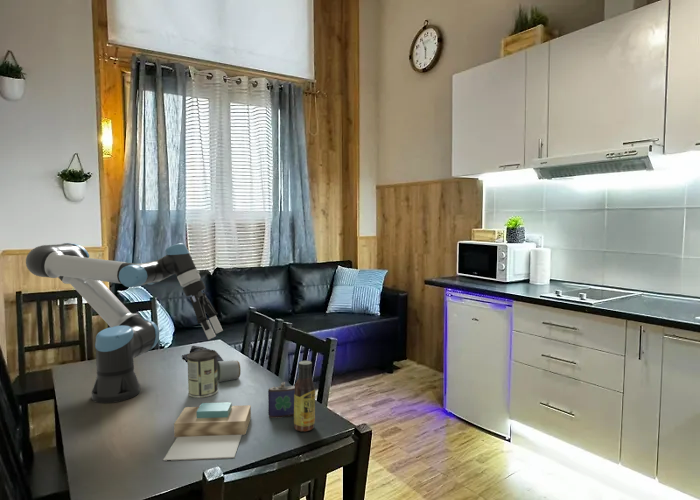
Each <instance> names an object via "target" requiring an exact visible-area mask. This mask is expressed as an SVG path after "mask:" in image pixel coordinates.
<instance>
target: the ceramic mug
mask: <svg viewBox="0 0 700 500" xmlns="http://www.w3.org/2000/svg"><path fill="white" fill-rule="evenodd" d="M241 369H242V368H241V364H240V362H239V361H238V360H234V359H233V360H224V361H218V362H217V382H218V383H220V382H228V381H232V380H238V379H239V378H240V376H241V372H242V371H241Z"/></svg>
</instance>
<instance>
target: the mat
mask: <svg viewBox="0 0 700 500" xmlns="http://www.w3.org/2000/svg"><path fill="white" fill-rule="evenodd" d="M242 436H243V435H216V436H188V437H176V439H175V440H174V442H173V443H172V445H171V447H170V448H169V449H168V451H167V453H166V454H165V456H164V458H163V459H162V460H163V461H165V462H166V461H167V460H171V461H190V460H191V461H192V460H214V459H216V460H217V459H218V460H219V459H234V458H236V457H235V456H236V454H237V450H238V448H239V445H240V442H241V439H242Z"/></svg>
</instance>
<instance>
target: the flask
mask: <svg viewBox="0 0 700 500" xmlns="http://www.w3.org/2000/svg"><path fill="white" fill-rule="evenodd" d="M267 390H268V391H267V392H268V393H267V394H268V397H267V398H268V401H267V402H268V405H267V406H268V407H267V408H268V412H267V413H268V417H269V418H272V419H278V418H279V419H280V418H288V417H294V393H295V385H289V386H286V382H285V381H282V382H281V384H280V385H279V386H276V387H275V386H274V385H273V387H269V388H268V389H267Z"/></svg>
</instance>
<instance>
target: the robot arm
mask: <svg viewBox="0 0 700 500" xmlns="http://www.w3.org/2000/svg"><path fill="white" fill-rule="evenodd" d="M164 252H165V255H164V256H162V257H161V258H158V259H156V260H154V261H146V262H142V263H141V262H140V263H134V262H126V261H117V260H109V259H102V258H100V259H99V258H93V257H90V254H89V252H88V250H87V249H86V248H85V247H84V246H82V245H80V244H77V243H70V242H66V243H65V242H64V243H61V244H43V245H39V246H35V247H34V248H32V249H31V250H30V251H29V252H28V254H27V255H26V258H25V266H26V267H27V270H28V271H29V272H30V273H31V274H33V275H34V276H36V277H40V278H50V279H51V278H52V279H57V278H58V279H59V280H60V281H61V282H62V284H66V285H67V284H69V285H71V287H72V288H74V289H75V291H76V292H77V293H78V294H79V295H80V296H81V297H82V298H83V299H84V301H85V302H86V303H87V304H89V306H90V307H91V308H92V309H93V310H94V311H95V312H96V313H97V314H98V315H99V317H100V318H101V319H102V320H103V321H104V322H105V324H107V325H108V326H109V327H107V328H104V329H102V330H100V331H99V332H98V333H97V334H96V336H95V344H94V347H95V361H96V362H95V363H96V377H95V378H96V379H95V381H94V384H93V386H92V390H91V400H92V401H93V402H94V403H99V404H100V403H101V404H112V403H118V402H123V401H126V400H129V399H131V398H135V397H136V396H137V395H139V393H141V385H140V382H139V380H138V377H137V374H136V372H135V363H134V362H135V361H134V359H135V358H137V357H139V356H141V355H143V354H144V353H145V354H146V353H148V352H150V351H152V349H153V348H155V347H156V345H157V344H158V342H159V340H160V330H159V328H158V325H157V323H155V322H154V321H152V320H147V319H143V318H142V317H141V316H140V314H138V313H133V312H131V311H130V310H129V309H128V307H126V306H125V305H124V303H123V302H122V301H120V300H119V298H118V297H117V296H116V295H115V294H114V293H113V292H112V291H111V290H110V289H109V288H108V286H107V285H106V284H105V283H104V282H106V283H114V284H122V285H123V286H124V287H126V288H137V287H141V286H145V285H150V286H152V285H154V284H158V283H160V282H161V281H163V280H165V279H167V278H169V277H171V276H173V275H175V276H176V278H177V280H178V282H179V284H180V287H182V290H183V292H184V294H185V297H187V298H188V297H189V301H190V302H191V304H192V308H193V311H194V315H195V317H196V321H197V322H196V323H197V324H198V325H199V324H200V325H201V327H202V329H203V331H204V334H205V336H206V338H207V340H208V341H209V340H211V339H213V338H215V337H216V336H217V334H219V333H221V332H223V331H224V330H223V328H222V325H221V323H220V321H219V319H218V317H217V315H218V314H219V313H218V312H217V311H216V309H215V308H214V307H213V305H212V303H211V301H210V300H209V299H208V297H207V295H206V293H205V292H202V291H204V290H205V289H206V286H205V282H204V281H203V280H202V279H201V275H200V273H201V272H200V270H198V269H197V267H196V264H195V262H194V260H193V258H192V255H191V253H190V251H189V250H188V248H187V246H186V244H185V243H183V242H179V243H176V244H172V245H170V246H168V247H167V248H165V250H164ZM207 316H208V318H207Z"/></svg>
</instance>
